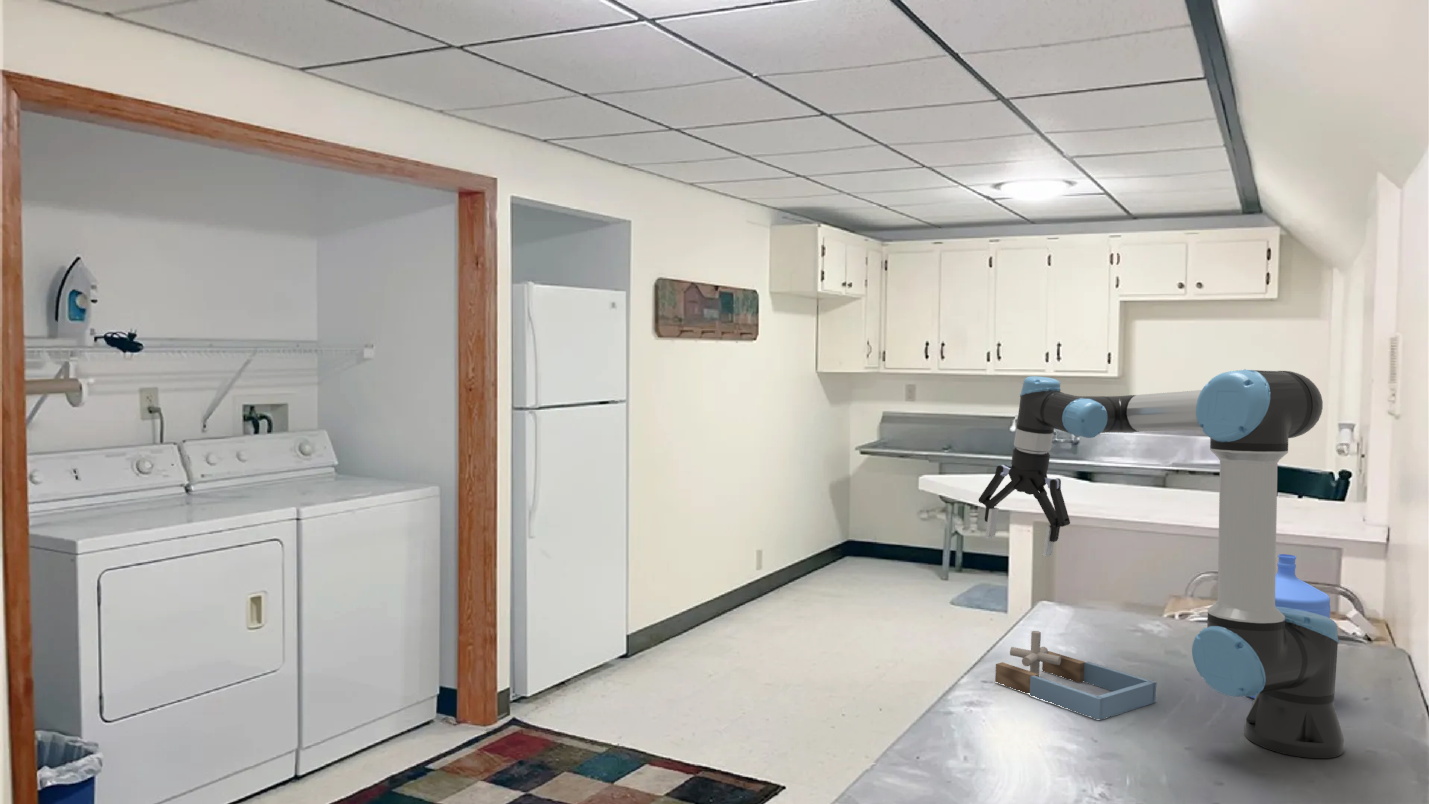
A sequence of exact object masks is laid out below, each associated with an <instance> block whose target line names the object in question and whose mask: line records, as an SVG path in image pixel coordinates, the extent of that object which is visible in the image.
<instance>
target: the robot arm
mask: <svg viewBox="0 0 1429 804" xmlns="http://www.w3.org/2000/svg"><path fill="white" fill-rule="evenodd" d="M1061 391H1062V390H1061V382H1060V381H1059V380H1058V379H1055V378H1052V377H1046V376H1039V375H1037V376H1036V375H1035V376H1034V375H1033V376H1031V375H1030V376H1027V377H1026V378H1024V380H1023V383H1022V387H1021V391H1020V395H1019V397H1020V399H1019V406H1018V407H1019V408H1018V412H1017V413H1018V415H1017V422H1016V430H1015V435H1014V441H1013V446H1014V447H1015V448H1014V449H1012V456H1011V467H1008V465H1007V464H1001V465H997V466H996V470H995V474H994V475H993V477H992V479H991V480H990V481H989V483H988V485H987V486H986V487H985V489H984V490H983V492H982V493H981V495H980V496H979V497H978V502H979V503H980V504H983V505H984V506H985V511H984V522H986V530H985V536H984V538H985V539H992V538H995V537H996V531H997V525H998V524H997V523H998V516H999V511H1000V510H999V507H998V504H999V503H1001V502H1002V501H1003V500H1004V499H1005V498H1007V496H1009V495H1011V493H1013V492H1014V491H1015V490H1016V492H1018V493H1025V494H1027V495H1033V497H1034V498H1035V499H1036V501H1037V502H1038V504H1039V507H1041V510H1042V512H1043V514H1044V515H1045V517H1046V519H1047V521H1048V523H1049V525H1046V529H1045V535H1044V536H1045V537H1044V541H1043V542H1044V543H1043V548H1042V554H1041V555H1042V556H1043V557H1045V558H1046V557H1049V556H1052V555H1053V550H1054V543H1055V542H1058V540H1059V536H1060V529H1061V527H1062V528H1063V527H1066V526H1069V525H1070V524H1071V520H1070V516H1069V513H1068V510H1067V506H1066V503H1065V499H1064V496H1063V491H1062V489H1061V488H1062V487H1061V486H1062V480H1061V478H1058V477H1057V478H1049V477H1048V475H1047V474H1048V470H1049V465H1050V458H1051V454H1050V453H1049V452H1050V451H1051V449H1052V443H1053V435H1054V430H1059V431H1061V432H1065V433H1068V434H1070V435H1073V436H1075V437H1082V438H1086V439H1092V438H1095V437H1097V436H1098V435H1100V434H1105V433H1106V434H1108V433H1109V434H1110V433H1111V434H1112V433H1118V434H1119V433H1123V434H1125V433H1126V434H1127V433H1128V434H1130V433H1131V434H1133V433H1140V432H1169V431H1172V432H1173V431H1201V430H1202V432H1203V433H1204V434H1205V435H1206V436H1207V437H1209V438H1210V441H1209V443H1210V445H1209V447H1210V448H1209V449H1210V452H1212V453H1213V454H1214V455H1215V456H1216V457H1217V458H1218V460H1219V492H1218V493H1219V494H1218V495H1219V496H1218V497H1219V498H1218V499H1219V501H1218V502H1219V503H1218V505H1219V506H1218V560H1217V563H1218V564H1217V566H1218V568H1217V573H1218V574H1217V600H1216V602H1214V603H1213V604H1212V605H1211V606H1209V607H1208V609H1207V621H1206V623H1207V625H1206V627H1204V628H1202V629H1201V630H1200V631H1199V633H1198V634H1196V635H1195V637H1194V639H1193V642H1192V645H1191V655H1192V656H1191V657H1192V660H1193V664H1194V667H1195V668H1196V671H1197V672H1198V674H1199V676H1200V677H1202V678H1203V679H1204V682H1205V683H1206V685H1208V686H1209V687H1210V688H1211V689H1212V690H1214V691H1215V692H1217V693H1219V694H1221V695H1224V696H1228V697H1231V698H1232V697H1233V698H1235V697H1236V698H1237V697H1238V698H1239V697H1249V696H1255V695H1256V697H1255V699H1253V702H1252V705H1251V707H1250V709H1249V711H1248V713H1247V716H1246V717H1245V721H1244V736H1245V737H1246V739H1247V740H1249V741H1250V742H1252V743H1253V744H1255V745H1257V746H1260V747H1262V748H1264V749H1266V750H1270V751H1272V752H1276V753H1280V754H1284V755H1289V756H1294V757H1299V758H1308V759H1309V758H1310V759H1330V758H1336V757H1339V756H1341V755H1342V754H1343V753H1344V747H1345V738H1344V734H1343V731H1342V726H1341V723H1340V720H1339V717H1338V714H1337V711H1336V708H1335V690H1336V677H1337V676H1336V675H1337V664H1338V663H1337V661H1338V645H1339V643H1340V641H1339V639H1338V636H1339V635H1338V634H1339V633H1338V632H1339V631H1338V625H1337V623H1336V622H1335V620H1333V619H1332V618H1331V617H1330V618H1328V617H1325V616H1322V615H1319V614H1315V613H1311V612H1306V611H1302V610H1296V609H1291V608H1284V607H1276V606H1275V577H1276V574H1277V570H1276V565H1277V564H1276V563H1277V517H1278V516H1277V514H1278V513H1277V512H1278V510H1277V507H1278V506H1277V505H1278V463H1279V462H1280V460H1281V459H1283V458H1284V457H1285V456H1286V455H1287V454H1288V453H1289V439H1293V438H1297V437H1299V436H1303V435H1304V434H1306V433H1308V432H1309V431H1310V430H1312V429H1313V428H1314V427H1315V426H1316V425H1317V424H1318V422H1319V420H1320V418H1321V417H1322V416H1321V415H1322V413H1323V410H1324V409H1323V404H1324V403H1323V397H1322V394H1321V392H1320V389H1319V388H1318V387H1317V385H1316V384H1315V383H1314V382H1313V381H1312V380H1311V379H1310V378H1308V377H1307V376H1305V375H1303V374H1301V373H1299V372H1295V371H1291V370H1258V369H1257V370H1256V369H1255V370H1254V369H1245V368H1244V369H1240V370H1231V371H1225V372H1222V373H1220V374H1217V375H1215V376H1214V377H1212V378H1211V379H1210V380H1209V381H1208V382H1207V383H1206V384H1205V385H1204V386H1203V387H1202V388H1201V389H1198V390H1185V391H1184V390H1183V391H1173V392H1172V391H1171V392H1170V391H1169V392H1160V393H1159V392H1158V393H1146V394H1130V395H1113V396H1112V395H1109V396H1108V395H1107V396H1102V395H1096V396H1095V395H1094V396H1093V395H1090V396H1088V395H1086V396H1085V395H1081V396H1080V395H1073V394H1070V393H1064V392H1061ZM1007 476H1009V478H1010V481H1009V482H1008V483H1007V484H1006V485H1005V486H1004V487H1003V488H1002V489H1001V490H1000V491H998V492H997V493H996V491H997V490H998V488H999V486H1000V485H1001V484H1002V482H1003V480H1004V479H1005V477H1007ZM1046 485H1047V488H1048V489H1049V493H1050V497H1051V499H1050V498H1049V496H1048V492H1047V490H1046V489H1045V486H1046ZM995 493H996V494H995ZM994 494H995V495H994ZM993 495H994V496H993ZM1051 500H1052V502H1051Z"/></svg>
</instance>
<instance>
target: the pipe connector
mask: <svg viewBox="0 0 1429 804" xmlns="http://www.w3.org/2000/svg"><path fill="white" fill-rule="evenodd" d="M1041 634H1042V632H1041V631H1039V630H1032V631H1031V635H1030V636H1031V638H1030V649H1025V648H1019V647H1015V646H1010V649H1009V655H1010V656H1013V657H1017V658H1022V659H1021V663H1022V665H1023V666H1024V667H1029V671H1031V672H1034V673H1037V674H1039V675H1040V663H1043V662H1046V663H1051V664H1056V665H1060V663H1061V657H1060V656H1056V655H1051V654H1048V651H1049V650H1048V648H1047V647H1046V646H1041V637H1042V636H1041Z"/></svg>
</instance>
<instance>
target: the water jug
mask: <svg viewBox="0 0 1429 804" xmlns="http://www.w3.org/2000/svg"><path fill="white" fill-rule="evenodd" d="M1277 557H1278V562H1277V564H1276V565H1277V571H1276V577H1275V606H1276V607H1284V608H1291V609H1296V610H1302V611H1306V612H1311V613H1315V614H1319V615H1322V616H1325V617H1328V618H1330V619H1331V604H1330V603H1331V599H1330V596H1329V595H1328V594H1327V593H1326V592H1324V591H1322V590H1321V589H1318V588H1316V587H1314V585H1311V584H1309V583H1307V582H1306V581H1304V580H1302V579H1299V578H1298V577H1297V576H1296V568H1297V564H1296V559H1297V556H1296V555H1292V554H1286V553H1279V554H1277ZM1248 697H1249V698H1251V699H1253V700H1255V697H1256V695H1255V696H1248Z"/></svg>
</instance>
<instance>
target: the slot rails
mask: <svg viewBox="0 0 1429 804" xmlns="http://www.w3.org/2000/svg"><path fill="white" fill-rule="evenodd" d="M1048 654H1051V655H1056V656H1060V657H1061V663H1060V665H1056V664H1051V663H1046V662H1041V663H1042V667H1041V671H1042V670H1043V671H1045V672H1044V673H1046V672H1048V673H1047V674H1049V673H1053V674H1055V675H1054V676H1056V675H1057V676H1056V677H1059V676H1062V677H1064V678H1063V679H1065V678H1066V680H1068V679H1071V680H1073V681H1072V682H1074V681H1075V683H1077V682H1081V683H1084V682H1083V681H1084V663H1085V662H1086V661H1084V660H1080V659H1078V658H1077V659H1076V658H1073V657H1070V656H1067V655H1063V654H1061V653H1057V652H1053V651H1050V650H1048ZM1043 671H1042V672H1043ZM994 674H995V675H994V676H995V681H994V683H995V682H998V683H1000V684H1004V685H1005V686H1007V687H1011V688H1013V689H1016V690H1020V691H1022V692H1025V693H1030V677H1031V676H1034V675H1035V676H1038V677H1040V673H1039V674H1037V673H1034V672H1031V671H1030V670H1028V669H1024V668H1021V667H1019V666H1015V665H1012V664H1009V663H1006V662H998V663H995V673H994ZM1062 677H1061V678H1062ZM1071 680H1070V681H1071ZM1007 687H1006V688H1007ZM1013 689H1012V690H1013ZM1016 690H1015V691H1016ZM1022 692H1021V693H1022ZM1025 693H1024V694H1025Z"/></svg>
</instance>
